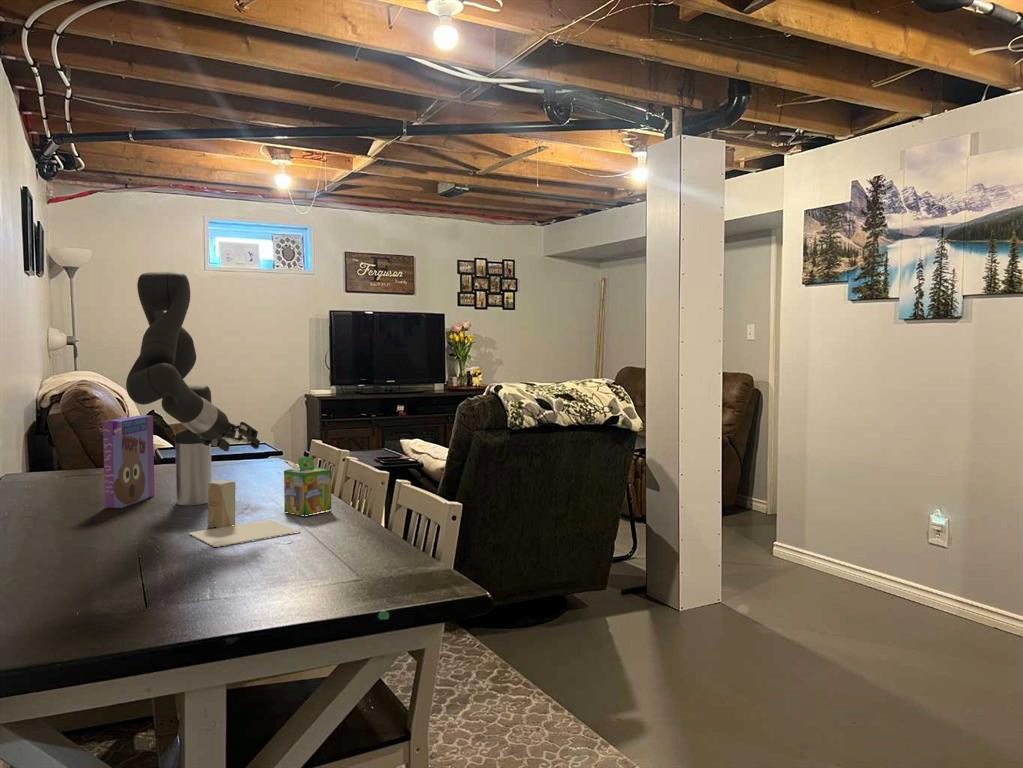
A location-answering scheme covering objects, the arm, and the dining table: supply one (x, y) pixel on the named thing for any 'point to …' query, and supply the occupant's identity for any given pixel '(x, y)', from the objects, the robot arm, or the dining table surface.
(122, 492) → the cereal box
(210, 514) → the box
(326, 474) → the chalk box
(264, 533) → the mat
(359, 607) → the dining table surface
